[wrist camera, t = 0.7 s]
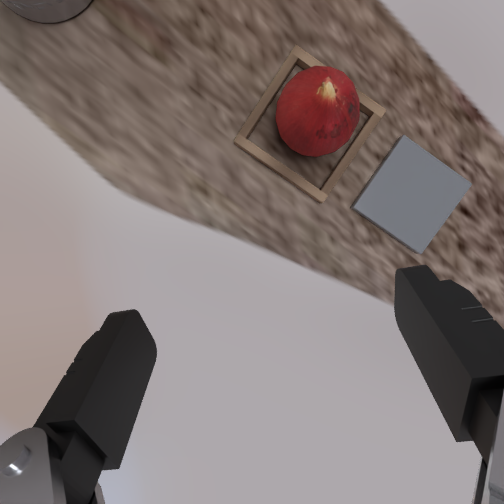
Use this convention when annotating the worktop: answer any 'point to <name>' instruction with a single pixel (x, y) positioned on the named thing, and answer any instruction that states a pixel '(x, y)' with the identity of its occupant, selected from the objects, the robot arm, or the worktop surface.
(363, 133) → the square wooden frame
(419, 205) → the coaster
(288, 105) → the onion
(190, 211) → the worktop surface
